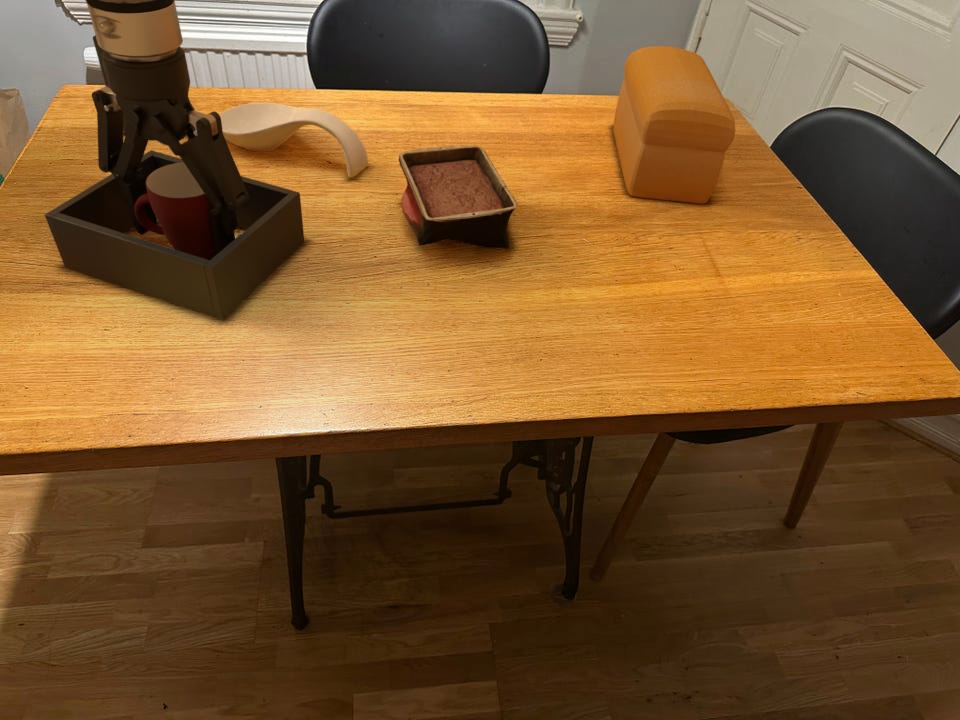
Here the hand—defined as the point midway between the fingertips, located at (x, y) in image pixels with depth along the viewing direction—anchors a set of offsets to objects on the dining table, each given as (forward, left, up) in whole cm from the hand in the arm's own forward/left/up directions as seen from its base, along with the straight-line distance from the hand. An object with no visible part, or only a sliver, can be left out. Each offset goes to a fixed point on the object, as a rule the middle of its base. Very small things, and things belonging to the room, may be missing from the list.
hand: (187, 241), depth 82 cm
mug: (0, 0, -2) cm, 2 cm away
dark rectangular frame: (0, 0, -2) cm, 2 cm away
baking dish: (+26, +21, -2) cm, 33 cm away
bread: (+48, +54, -2) cm, 72 cm away
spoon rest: (-3, +28, -2) cm, 28 cm away
